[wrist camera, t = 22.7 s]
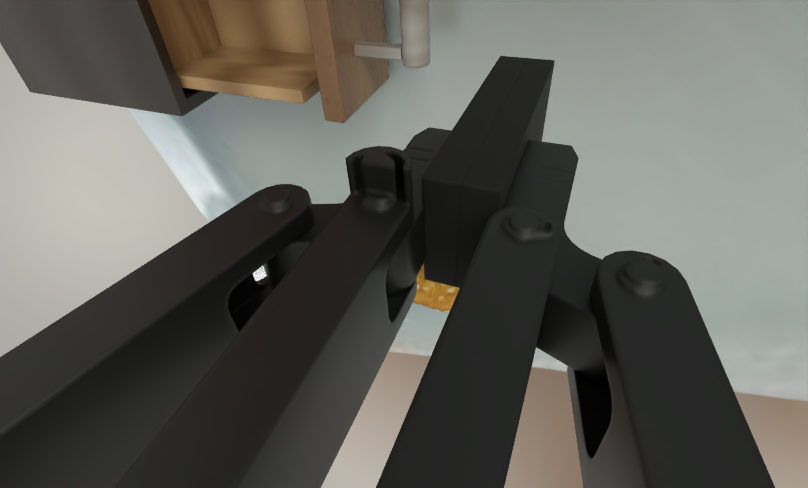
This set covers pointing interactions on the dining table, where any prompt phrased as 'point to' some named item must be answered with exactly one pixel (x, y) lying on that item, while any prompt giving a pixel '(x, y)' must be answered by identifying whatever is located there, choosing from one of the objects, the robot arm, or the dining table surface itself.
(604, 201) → the dining table surface
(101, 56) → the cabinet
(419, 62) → the drawer
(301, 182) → the dining table surface
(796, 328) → the dining table surface
